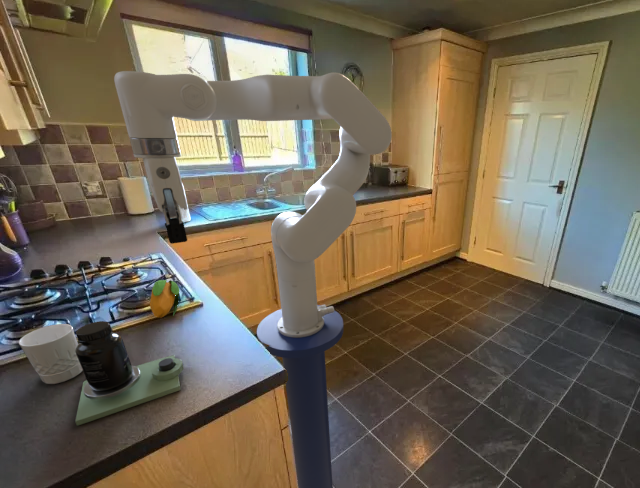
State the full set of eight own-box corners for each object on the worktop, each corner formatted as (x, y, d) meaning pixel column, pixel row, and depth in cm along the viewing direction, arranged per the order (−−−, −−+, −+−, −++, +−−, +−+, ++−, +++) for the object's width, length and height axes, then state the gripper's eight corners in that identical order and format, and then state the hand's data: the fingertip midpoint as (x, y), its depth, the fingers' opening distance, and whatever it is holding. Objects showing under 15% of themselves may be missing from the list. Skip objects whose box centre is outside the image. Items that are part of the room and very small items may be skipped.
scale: (181, 356, 76) (179, 347, 75) (187, 387, 67) (185, 378, 66) (85, 385, 67) (80, 376, 66) (77, 426, 58) (72, 415, 57)
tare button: (174, 362, 71) (172, 356, 70) (175, 369, 69) (173, 363, 68) (160, 366, 70) (158, 360, 69) (160, 373, 68) (158, 367, 67)
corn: (176, 271, 102) (172, 298, 86) (183, 292, 105) (181, 322, 89) (148, 276, 99) (139, 306, 83) (156, 298, 102) (149, 331, 86)
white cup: (40, 371, 71) (21, 332, 67) (88, 356, 75) (72, 319, 71) (37, 392, 65) (15, 351, 61) (88, 375, 70) (71, 336, 66)
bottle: (172, 220, 184) (159, 165, 172) (187, 218, 190) (175, 164, 178) (178, 223, 179) (165, 166, 168) (193, 220, 185) (182, 165, 173)
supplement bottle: (141, 374, 66) (124, 323, 61) (103, 397, 60) (80, 342, 55) (121, 364, 68) (103, 314, 64) (82, 385, 63) (59, 332, 58)
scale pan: (140, 362, 70) (139, 359, 70) (141, 387, 64) (139, 384, 63) (87, 378, 65) (85, 375, 65) (81, 407, 59) (80, 403, 59)
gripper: (183, 150, 58) (204, 248, 65) (175, 146, 69) (193, 230, 76) (131, 151, 54) (159, 255, 61) (132, 146, 65) (155, 235, 72)
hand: (178, 241), depth 69 cm, fingers closed
